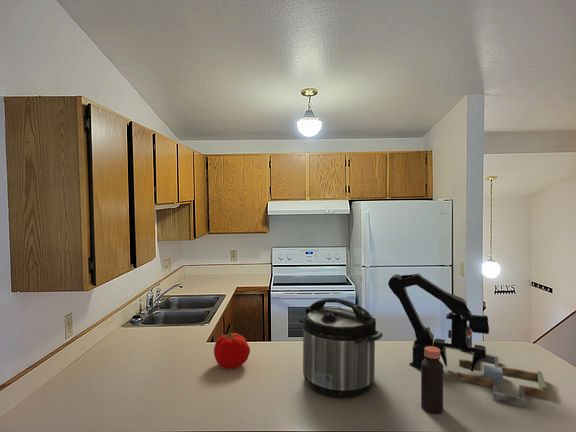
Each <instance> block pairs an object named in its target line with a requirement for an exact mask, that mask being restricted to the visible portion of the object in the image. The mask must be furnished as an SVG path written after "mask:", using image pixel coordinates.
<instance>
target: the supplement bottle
mask: <svg viewBox="0 0 576 432" xmlns="http://www.w3.org/2000/svg"><path fill="white" fill-rule="evenodd" d="M472 343H473V332H472V331H471V329H469V324H467V346H468V347H473V346H472V345H473V344H472ZM464 352H467V351H464Z"/></svg>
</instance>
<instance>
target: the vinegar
mask: <svg viewBox="0 0 576 432" xmlns="http://www.w3.org/2000/svg"><path fill="white" fill-rule="evenodd" d="M424 355H425V359H424V360H423V361H422V362H421V369H420V371H421V374H420V379H421V381H420V385H421V386H420V387H421V388H420V389H421V391H420V395H421V396H420V406H421V409H422V410H423V411H424V412H427V413H429V414H432V415H438V414H442V412H443V411H444V363H443V362H441V361H440V359H441V355H440V349H439V348H437V347H433V346H427V347H425V348H424Z"/></svg>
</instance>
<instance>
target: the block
mask: <svg viewBox="0 0 576 432" xmlns="http://www.w3.org/2000/svg"><path fill="white" fill-rule="evenodd" d="M503 376H504V374H503V372H502V368H500V367H495V365H494V366H493V365H488V364H487V365H486V364H483V377H484V378H489V379H494V380H497V384H503V383H504V382H503V381H504V378H503Z"/></svg>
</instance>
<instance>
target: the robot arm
mask: <svg viewBox="0 0 576 432" xmlns="http://www.w3.org/2000/svg"><path fill="white" fill-rule="evenodd" d="M387 285H388V287H389V289H390V290H391V292H392V293H393V295H395V296H396V297H397V299H398V300H399V302H400V304H401V306H402V308H403V310H404V312H405V314H406V316H407V318H408V320H409V322H410V324H411V326H412V328H413V331H414V335H415V340H414V341H413V345H412V361H411V362H410V363H409V365H410V366H411V367H414V368H416V369H419V370H421V362H422V361H423V360H424V359H425V355H424V348H425V347H427V346H433V347H437V348H439V349H440V358H442V360H443V365H444V366H445V367H446V368H447V367H448V358H447V350H446V349H449V350H450V349H452V350H456V351H457V350H458V351H462V352H465V351H467V352H469V353H472V358H473V359H472V360H471V361H472V366H471V368H470V370H471V371H470V372H474V370H475V369H474V367H475V365H477V363H478V362H479V361H482V360H481V359H482V358H486V354H487V350H486V349H487V348H486V346H485V345H480V344H474V346H472V347H468V346H467V325H469V329H470V330H471V331H472V333H473V334H474V333H476V334H485V335H489V334H490V327H489V317H488V315H484V314H483V315H478V314H472V311H471V310H470V309H469V308H468V305H467V301H466V300H465V299H464V298H462V297H460V296H458V295H455V294H452V293H450V292H447V291H446V290H444V289H443V288H441V287H439V286H437V285H436V284H435V283H433V282H431V281H430V280H428V279H427V278H426V277H424V276H422V275H421V274H420V273H414V274H403V275H401V274H396V273H395V274H393V275H392V276H391V277H390V279H389V280H388V284H387ZM412 286H417V287H419V288H420V289H422V290H424V291H425V292H427V293H428V294H430V295H431V296H433V297H435V298H436V299H438V300H439V301H440V302H442V303H443V304H444V305H445V307H446V308H448V309H449V313H447V314H446V315H445V319H447V320H450V329H448V332H447V337H448V338H449V339H450V343H449V342H446V339H441V338H438V337H437V338H435V337H434V334H433V332H432V330H431V328H430V326H427V327H426V326H425V325H424V324H423V322H422V319H421V318H420V316H419V314H418V312H417V310H416V308H415V306H414V303H413V302H412V299H411V298H410V295H409V294H408V291H407V290H408V289H407V288H408V287H412ZM479 359H480V360H479Z"/></svg>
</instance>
